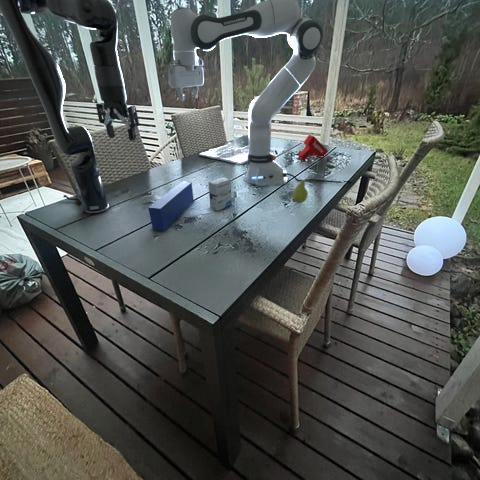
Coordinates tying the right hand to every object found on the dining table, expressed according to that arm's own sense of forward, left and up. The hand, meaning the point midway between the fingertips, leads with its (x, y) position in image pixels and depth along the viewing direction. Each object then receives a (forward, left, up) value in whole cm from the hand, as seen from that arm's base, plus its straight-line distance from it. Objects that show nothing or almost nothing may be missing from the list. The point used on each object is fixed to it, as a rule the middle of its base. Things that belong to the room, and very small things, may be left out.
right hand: (188, 99), depth 117 cm
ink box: (-14, +24, -40) cm, 48 cm away
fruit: (-49, +19, -40) cm, 66 cm away
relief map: (-16, -57, -40) cm, 71 cm away
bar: (+5, +31, -40) cm, 51 cm away
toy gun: (-69, -47, -40) cm, 92 cm away
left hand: (+17, +36, -9) cm, 41 cm away
